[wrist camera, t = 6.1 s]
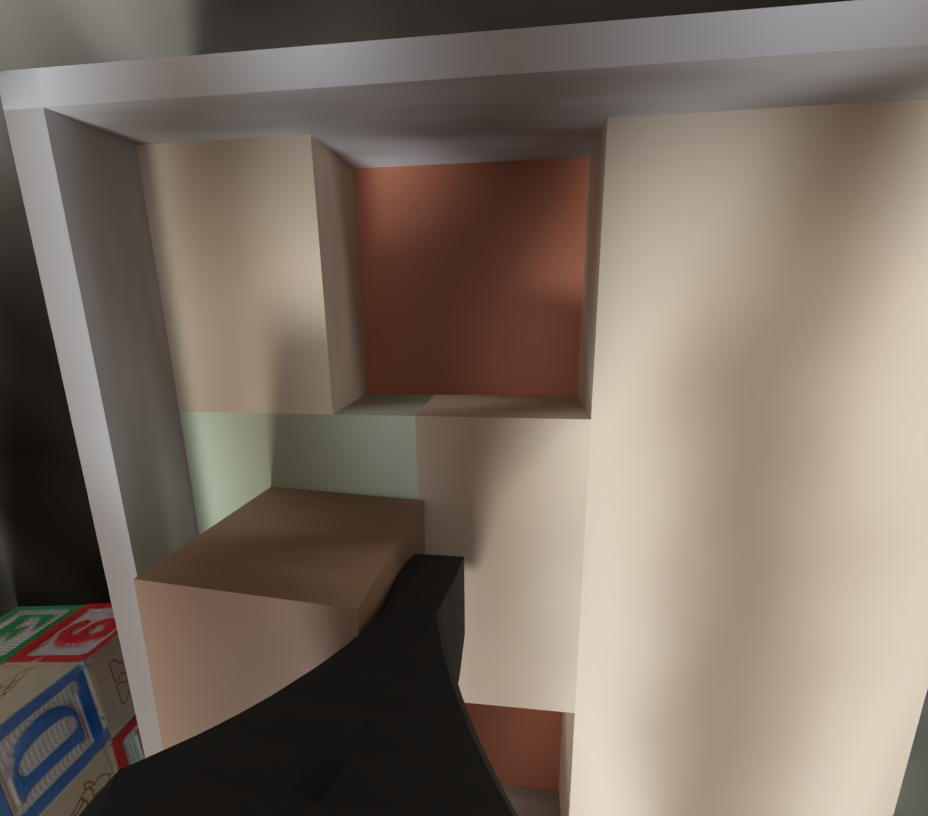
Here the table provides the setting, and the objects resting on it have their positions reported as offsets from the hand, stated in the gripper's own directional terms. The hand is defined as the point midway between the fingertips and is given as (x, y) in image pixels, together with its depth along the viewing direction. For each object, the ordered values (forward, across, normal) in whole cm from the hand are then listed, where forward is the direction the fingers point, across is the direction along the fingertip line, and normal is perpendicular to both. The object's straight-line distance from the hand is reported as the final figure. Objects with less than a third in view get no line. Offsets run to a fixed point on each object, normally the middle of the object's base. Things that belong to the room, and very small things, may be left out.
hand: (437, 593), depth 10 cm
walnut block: (+1, +2, 0) cm, 3 cm away
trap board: (+4, -2, 0) cm, 5 cm away
